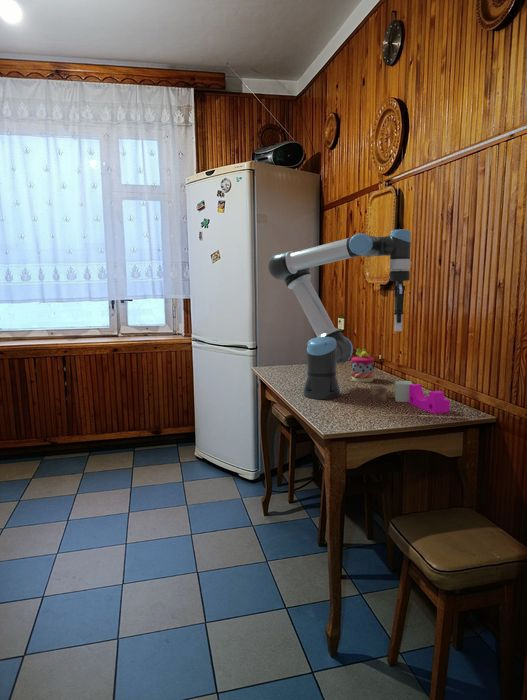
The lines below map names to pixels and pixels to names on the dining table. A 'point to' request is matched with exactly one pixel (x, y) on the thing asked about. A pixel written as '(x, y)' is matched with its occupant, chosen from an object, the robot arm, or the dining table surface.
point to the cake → (362, 367)
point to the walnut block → (378, 393)
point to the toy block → (428, 400)
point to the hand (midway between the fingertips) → (398, 330)
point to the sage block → (402, 391)
